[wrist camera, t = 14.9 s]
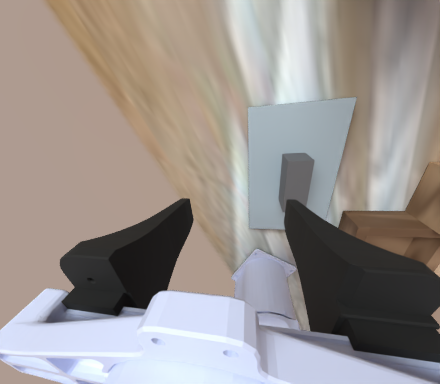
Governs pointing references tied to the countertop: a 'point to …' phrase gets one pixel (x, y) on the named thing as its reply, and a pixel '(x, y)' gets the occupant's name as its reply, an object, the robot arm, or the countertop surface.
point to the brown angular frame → (404, 223)
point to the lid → (294, 157)
